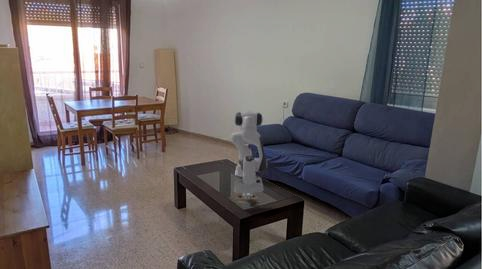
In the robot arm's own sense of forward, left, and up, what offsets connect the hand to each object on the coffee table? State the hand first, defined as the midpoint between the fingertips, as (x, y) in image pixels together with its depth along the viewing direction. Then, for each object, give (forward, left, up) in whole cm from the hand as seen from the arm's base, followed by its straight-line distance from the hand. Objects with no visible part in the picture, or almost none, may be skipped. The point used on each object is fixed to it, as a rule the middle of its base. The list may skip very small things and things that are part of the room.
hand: (248, 198), depth 237 cm
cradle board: (-13, 0, -5) cm, 14 cm away
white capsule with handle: (-6, 0, -4) cm, 7 cm away
